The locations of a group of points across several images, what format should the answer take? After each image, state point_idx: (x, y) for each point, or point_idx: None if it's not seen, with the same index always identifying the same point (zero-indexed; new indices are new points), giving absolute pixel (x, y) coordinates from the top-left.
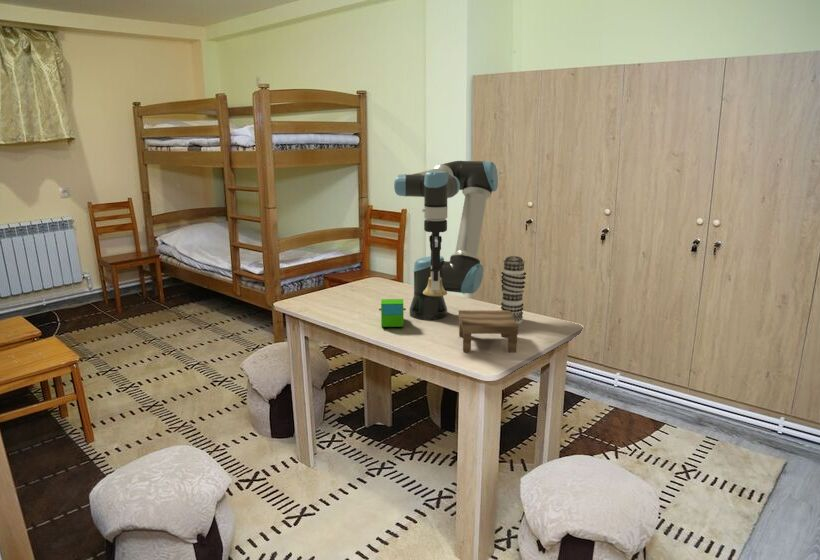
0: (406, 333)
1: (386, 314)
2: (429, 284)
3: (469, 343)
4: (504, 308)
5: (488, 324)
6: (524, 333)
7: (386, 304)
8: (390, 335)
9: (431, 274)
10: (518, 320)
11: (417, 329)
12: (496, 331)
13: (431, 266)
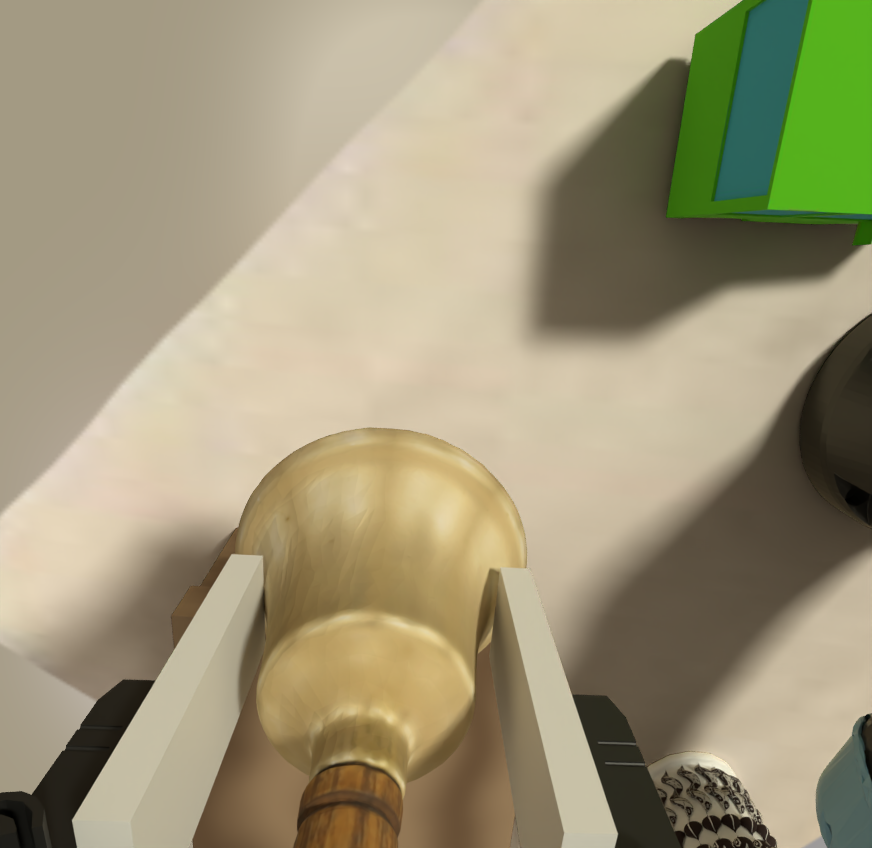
0: (571, 233)
1: (745, 49)
2: (309, 569)
3: None
4: (704, 832)
5: (228, 752)
6: None
7: (808, 15)
8: (546, 111)
9: (164, 738)
10: None
11: (637, 314)
12: None
13: (575, 844)
